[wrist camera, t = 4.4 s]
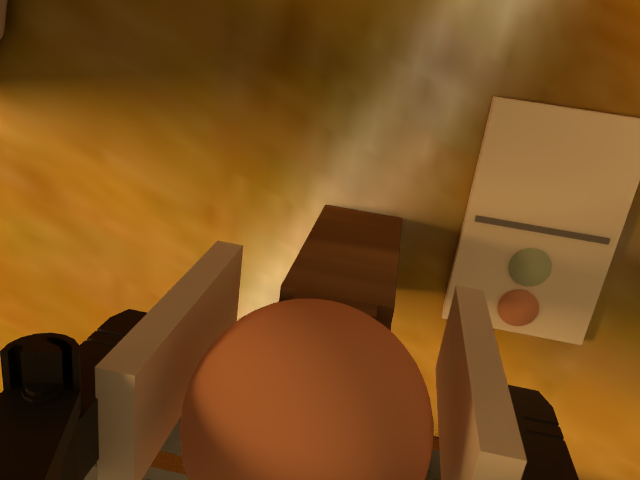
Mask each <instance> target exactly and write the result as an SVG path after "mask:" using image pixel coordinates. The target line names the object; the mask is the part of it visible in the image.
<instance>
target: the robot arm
mask: <svg viewBox="0 0 640 480" xmlns="http://www.w3.org/2000/svg"><path fill="white" fill-rule="evenodd" d="M242 252H243V245H238V244H232V243H227V242H222V241H217V242H216V243H215V244H214V245H213V246H212V247H211V248H210V249H209V250H208V251H207V252H206V253H205V254H204V255H203V256H202V257H201V258H200V260H199V261H198V262H197V263H196V264H195V265H194V266H193V267H192V268H191V269H190V270H189V271H188V272H187V273H186V274H185V275H184V276H183V277H182V278H181V279H180V280H179V281H178V282H177V283H176V284H175V285H174V286H173V287H172V288H171V289H170V290H169V291H168V292H167V293H166V294H165V296H164V297H163V298H162V299H161V300H160V301H159V302H158V303H157V304H156V305H155V306H154V307H153V308H152V309H151V310H150V311H149V312H148V313H146V312H141V311H136V310H131V309H128V310H126V311H124V312H121V313H119V314H117V315H115V316H112V317H110V318H109V319H108V320H107V321H106V322H105V323H104V324H102V325H101V326H100V327H99V328H98V330H97V331H95V332H94V333H93V334H92V335H91V336H89V337H88V338H87V341H84V342H83V343H82V344H81V345H80V346H79V344H78V343H77V342H76V341H75V339H73V338H71V337H68V336H66V335H63V334H56V333H40V334H33V335H29V336H25V337H21V338H19V339H17V340H15V341H13V342H11V343H9V344H7V345H6V346H5V347H4V348H3V349H2V350H1V351H0V357H1V367H2V378H3V388H4V390H3V392H2V393H0V480H84V478H85V477H86V475H87V474H88V473H89V471H90V470H91V469H92V467H93V466H94V465H95V463H96V462H97V480H142V478H143V477H144V475H145V473H146V472H147V470H148V468H149V467H150V465H151V464H152V462H153V460H154V459H155V457H156V456H157V454H158V452H159V451H160V449H161V448H162V446H163V444H164V443H165V441H166V440H167V438H168V436H169V435H170V433H171V432H172V430H173V428H174V427H175V425H176V423H177V422H178V420H179V419H180V417H181V413H182V405H183V401H184V398H185V395H186V391H187V388H188V385H189V381H190V379H191V377H192V375H193V373H194V371H195V369H196V367H197V365H198V363H199V362H200V360H201V358H202V357H203V355H204V354H205V353H206V351H207V350H208V348H209V347H210V346H211V345H212V343H213V342H214V341H215V340H216V339H217V338H218V337H219V336H220V335H221V334H222V333H223V332H224V331H225V330H226V329H228V328H229V327H230V326H231V325H233V324H234V323H235V322H237V310H238V299H239V287H240V275H241V263H242ZM435 369H436V388H437V408H438V428H439V447H440V467H441V480H579V479H578V476H577V473H576V470H575V468H574V465H573V462H572V459H571V457H570V454H569V451H568V448H567V446H566V443H565V441H563V438H564V437H563V434H562V432H561V429H560V427H558V425H559V423H558V421H557V418H556V415H555V412H554V409H553V407H552V406H551V405H550V404H549V403H548V401H547V400H546V399H545V398H544V397H543V396H542V395H541V394H540V393H539V391H536V390H531V389H526V388H521V387H516V386H511V385H507V381H506V377H505V373H504V369H503V365H502V361H501V357H500V353H499V349H498V345H497V341H496V337H495V333H494V330H493V326H492V322H491V318H490V314H489V310H488V306H487V302H486V298H485V294H484V290H478V289H473V288H468V287H462V286H457V285H456V286H455V290H454V295H453V299H452V303H451V307H450V311H449V315H448V319H447V323H446V327H445V331H444V335H443V340H442V344H441V348H440V352H439V356H438V360H437V364H436V368H435Z"/></svg>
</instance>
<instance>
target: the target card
mask: <svg viewBox="0 0 640 480" xmlns="http://www.w3.org/2000/svg"><path fill="white" fill-rule="evenodd" d="M639 181H640V118H637V117H630V116H623V115H617V114H610V113H603V112H597V111H590V110H583V109H577V108H570V107H563V106H557V105H550V104H543V103H536V102H530V101H523V100H516V99H510V98H503V97H496V96H493V99H492V103H491V107H490V111H489V116H488V120H487V124H486V128H485V132H484V137H483V141H482V145H481V149H480V153H479V158H478V162H477V166H476V170H475V174H474V179H473V183H472V187H471V191H470V195H469V200H468V204H467V208H466V212H465V216H464V220H463V225H462V229H461V233H460V237H459V241H458V246H457V250H456V254H455V258H454V262H453V267H452V271H451V275H450V279H449V283H448V288H447V292H446V296H445V300H444V304H443V308H442V313H441V315H442V318H443V319H448V315H449V311H450V307H451V303H452V299H453V295H454V290H455V286H456V285H457V286H462V287H468V288H473V289H478V290H484V294H485V298H486V302H487V306H488V310H489V314H490V318H491V322H492V326H493V328H494V329H499V330H505V331H510V332H515V333H520V334H525V335H530V336H536V337H541V338H546V339H551V340H556V341H561V342H567V343H572V344H577V345H582V343H583V340H584V337H585V334H586V332H587V329H588V326H589V323H590V320H591V317H592V314H593V312H594V309H595V306H596V303H597V300H598V297H599V295H600V292H601V289H602V286H603V283H604V280H605V278H606V275H607V272H608V269H609V266H610V263H611V261H612V258H613V255H614V252H615V249H616V246H617V244H618V241H619V238H620V235H621V232H622V229H623V227H624V224H625V221H626V218H627V215H628V212H629V210H630V207H631V204H632V201H633V198H634V195H635V193H636V190H637V187H638V184H639Z"/></svg>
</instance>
